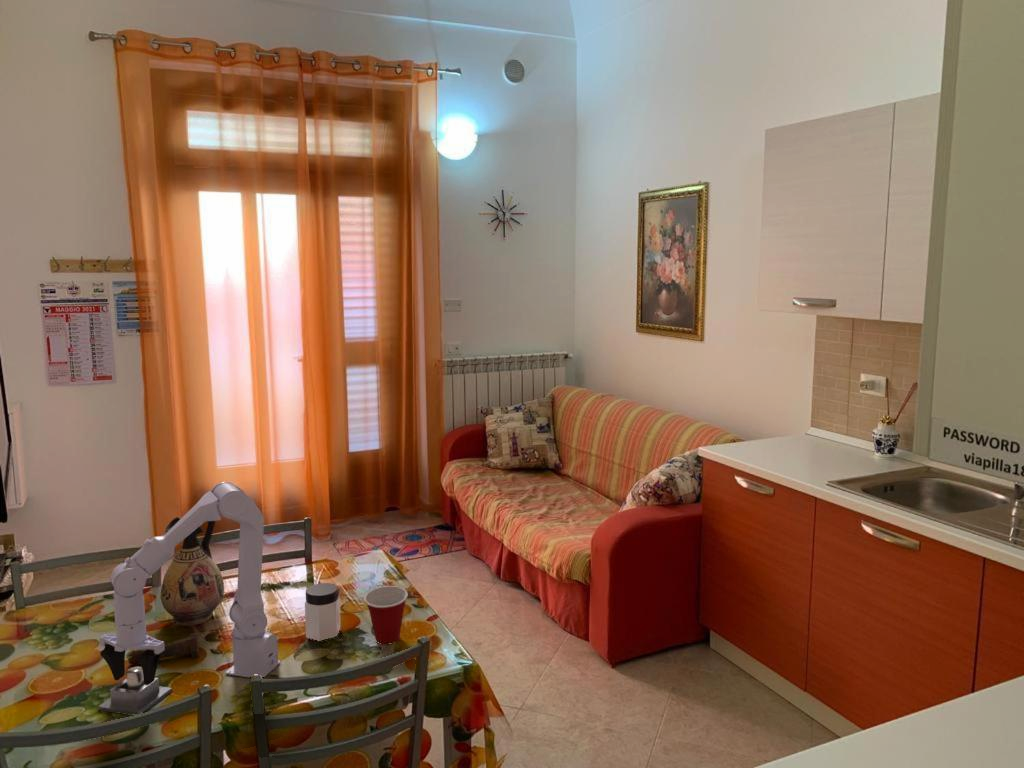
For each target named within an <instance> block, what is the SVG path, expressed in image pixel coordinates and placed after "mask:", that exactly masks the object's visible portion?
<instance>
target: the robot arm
mask: <svg viewBox="0 0 1024 768" xmlns="http://www.w3.org/2000/svg"><path fill="white" fill-rule="evenodd" d="M221 515H222V516H223V517H225V518H227V519H228V520H229V519H230V520H232V521H235V522H236V523H238V524H239V541H238V542H239V543H238V544H239V545H238V546H239V547H238V563H237V565H238V567H237V568H238V569H237V590H236V592H235V593H234V596H233V602H232V604H231V605H230V608H229V610H228V616H229V619H230V620H231V622H232V623H234V626H233V629H232V631H231V635H232V637H231V638H232V639H231V640H232V657H233V665H232V666H231V667H230V668H229V669H228V670H226V671H225V674H226V675H230V676H238V677H244V678H250V676H252V675H254V674H258V675H261V676H262V677H264V678H265V677H266V676H267V675H268V674H269V673H271V672H272V671H273V670H274V669H275V668H276V667H278V665H280V664H281V660H279V651H278V650H279V646H278V638H277V636H276V635H275V634H274V633H271V632H269V631H267V629H266V628H267V625H268V618H267V615H266V613H265V608H264V607H265V604H264V601H263V596H262V593H261V591H262V573H263V572H262V571H263V569H262V567H263V553H264V552H263V551H264V550H263V549H264V548H263V547H264V528H265V516H264V515H263V513H262V511H261V510H260V509H259V508H258V506H257V505H256V503H255V501H254V499H253V498H252V497H251V496H249V495H248V494H247V493H246V492H245V491H244V490H243V489H241V488H240V487H238V485H235V484H234V483H233V482H229V481H222V482H219V483H217V484H215V485H214V486H213V487H212V489H211V491H210V490H209V491H207V492H206V493H204V494H203V495H202V497H201V498H200V499H199V500H198V501H197V503H196V504H194V506H192V507H191V509H189V510H188V511H187V512H186V513H185V514H184V515H183V516H182V517H181V518H180V520H179V521H178V522H177V523H176V524H175V525H174V526H173V527H172V528H171V529H170V530H169V531H168V532H167V533H165V534H164V535H160V536H159V535H157V536H153V537H152V538H151V539H148V538H147V539H145V541H143V543H142V544H143V546H142V547H141V548H140V549H139V550H137V551H136V552H134V554H133V555H132V556H131V557H127V558H125V559H124V563H122V562H121V563H120V564H119V563H118V565H116V566H115V567H114V568H113V569H112V572H111V574H110V577H109V580H110V582H111V584H112V586H113V612H114V623H115V633H105V634H104V635H101V636H100V637H99V644H100V645H99V646H100V647H102V648H104V649H102V650H101V651H100V652H99V653H100V656H101V657H102V658H103V660H104V661H105V663H106V664H107V665H108V667H109V670H110V673H111V674H112V676H113V679H114V680H115V681H118V680H120V679H122V678H123V677H124V676H125V673H126V666H125V665H126V664H125V659H126V658H125V657H126V651H129V650H132V651H134V650H144V651H145V653H143V654H142V655H140V656H139V657H138V660H139V662H140V663H139V665H140V667H142V670H143V677H144V683H145V685H149V684H150V683H152V682H153V681H154V679H155V678H156V675H157V674H156V673H157V669H158V665H159V662H160V660H161V659H160V658H161V656H162V654H163V652H164V650H165V648H164V645H165V641H163V640H159V639H157V638H154V637H152V636H150V635H148V634H147V624H146V623H147V621H146V607H145V596H144V591H143V590H144V588H145V586H146V582H147V579H149V578H150V577H152V576H153V574H155V573H157V571H158V570H159V569H160V568H162V567H163V566H164V565H165V564H166V563H167V562H168V561H169V560H170V559H172V557H174V554H175V548H176V547H177V545H179V544H180V543H181V542H183V540H184V539H185V538H186V537H187V536H188V535H190V534H191V533H192V532H193V531H194V530H196V529H197V528H198V527H199V526H200V527H202V525H203V524H204V523H206V522H208V521H215V522H217V521H222V517H221ZM250 679H251V678H250Z"/></svg>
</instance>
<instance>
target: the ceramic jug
mask: <svg viewBox="0 0 1024 768" xmlns="http://www.w3.org/2000/svg"><path fill="white" fill-rule="evenodd" d="M180 519H181V518H180V517H178V516H177V517H174V518H173V519H172V520H171V521H170V522H169V524H167V526H166V528H165V531H164V532H165V534H166V533H167V532H168V531H169V530H170V529H171V528H172V527H173V526H174V525H175V524H176V523H177V522H178V521H179V520H180ZM215 526H216V521H207V525H206V530H205V533H204V536H203V538H202V541H201V543H200V541H199V539H198V537H197V536H198V535H199V534H202V533H203V532H204V529H203V528H202V526H199V527H198V528H197V529H196V530H194V531H193V532H192V533H191V534H190V535H188V536H187V537H186V538H185V539H184V540H182V545H181V546H180V549H179V550H178V552H177V553H176V555H175V556H173V559H172V561H171V562H170V564H169V566H168V568H167V569H166V571H165V574H164V576H163V579H162V583H161V588H160V600H161V601H160V602H161V605H162V606H163V609H164V610H165V611H166V613H168V614H169V615H170V616H171V617H172V618H174V624H177V626H182V627H191V626H196V625H200V624H203V623H206V622H207V621H208V620H210V619H211V618H212V616H213V615H214V611H215V610H216V608H217V607H219V604H221V602H222V600H223V597H224V593H225V586H224V585H225V583H224V579H223V578H224V577H223V575H222V572H221V571H220V568H219V567H218V565H217V563H216V562H215V560H214V559H213V557H212V554H211V553H212V552H211V549H210V543H211V540H212V535H213V533H214V527H215ZM226 607H227V606H226Z"/></svg>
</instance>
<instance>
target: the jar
mask: <svg viewBox="0 0 1024 768" xmlns="http://www.w3.org/2000/svg"><path fill="white" fill-rule="evenodd" d="M339 594H340V591H339V586H338V585H336V584H334V583H329V582H321V583H316V584H315V583H314V584H312V585H310V586H308V587H307V588H306V589H305V603H304V617H305V638H306V639H309V638H310V640H312V639H313V640H312V641H315V640H317V641H316V642H319V641H321V640H324V639H328V638H332V637H335V636H337V635H338V636H339V634H340V632H339V630H340V631H341V629H340V628H341V602H340V601H341V598H340V596H341V595H339ZM338 633H339V634H338ZM338 636H337V637H338ZM321 642H322V641H321Z"/></svg>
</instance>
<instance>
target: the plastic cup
mask: <svg viewBox="0 0 1024 768" xmlns="http://www.w3.org/2000/svg"><path fill="white" fill-rule="evenodd" d="M408 596H409V594H408V590H406V589H405V588H404V587H400V586H397V585H385V586H379V587H376V588H373V589H371V590H369V591H368V592H366V594H365V595H364V597H363V599H364V603H365V604H366V605H367V608H368V611H369V615H370V619H371V625H372V630H373V633H374V638H375V641H377V643H378V642H379V643H381V644H380V645H384V644H387V645H390V644H389V643H393V642H395V641H397V640H398V641H399V640H400V636H401V635H400V634H401V629H402V624H403V618H404V617H403V616H404V611H405V607H406V606H405V605H406V602H407V601H406V600H407V598H408ZM398 641H397V642H398ZM379 643H378V644H379ZM395 643H396V642H395ZM393 644H394V643H393Z"/></svg>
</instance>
